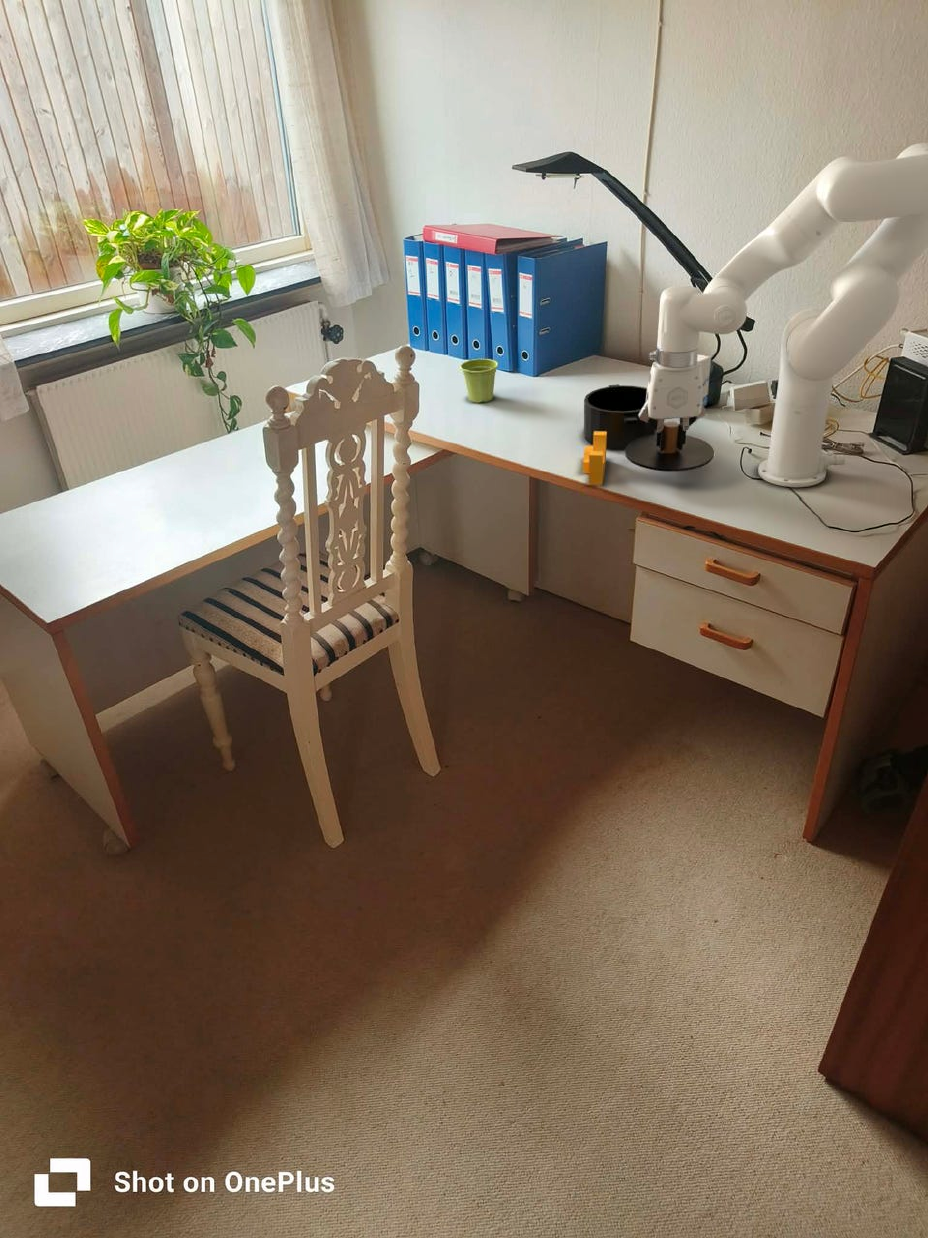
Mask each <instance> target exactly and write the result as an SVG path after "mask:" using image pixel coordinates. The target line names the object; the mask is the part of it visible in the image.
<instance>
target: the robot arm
mask: <svg viewBox="0 0 928 1238" xmlns="http://www.w3.org/2000/svg"><path fill="white" fill-rule="evenodd" d="M879 220H883V221H882V222H881V223H880V224H879V226H878V227H877V228H876V229H875V231H874V232H873V234H872V235H871V236H870V237H869V238H868V239H867V240H866V241H865V243H864V244H863V245H862V246H860V248H859V249H858V250H857V251H856V253H855V254H853V256H852V257H850V259H849V260H848V261H847V262H846V263H845V265H843V266H842V268H841V269H839V271H838V272H837V273H836V274H835V276H834V277H833V279H832V281H831V284H830V288H829V294H830V298H831V302H830V304H828V306H827V307H826V308H824V309H823V308H820V307H809V308H805V309H802V310H800V311H798V312H797V313H796V314H794V315H793V316H792V317H791V318H790V319H789V321H788V322H787V324H786V325H785V327H784V330H783V333H782V337H781V343H780V344H781V345H780V356H779V357H780V359H779V360H780V361H779V373H778V381H777V390H776V397H775V404H774V410H773V419H772V427H771V433H770V439H769V448H768V456H767V458H766V459H765V460H763V461H761V462H760V463H759V465H758V469H757V473H758V476H760V478H761V479H762V480H764V481H766V482H768V483H769V484H773V485H776V486H780V487H786V488H806V487H813V486H815V485H818V484H820V483H822V482H823V481H824V480H825V479H826V474H827V470H826V468H828V467H829V466H842V465H845V464H846V463H845V462H846V457H845V454H835V455H834V451H824V452H823V451H822V449H823V443H824V436H825V431H826V426H827V425H826V424H827V419H828V414H829V413H828V412H829V407H830V401H831V396H832V390H833V384H834V376H835V375H837V374H838V373H839V372H841V371H842V370H843V369H844V368H845V367H847V366H848V364H849V363H850V362H851V361H852V360H853V359H854V358H855V357H856V356H857V355H858V354H859V353H861V351H862V350H863V349H864V348H865V347H866V346H867V345H868V344H869V343H870V342H871V341H872V340H873V339H874V338H875V337H876V336H877V335H878V334H879V333H880V332H881V330H882V329H884V327H885V326H886V325H887V324H888V323H889V321H890V320H891V318H892V317H893V316H894V314H895V313H896V310H897V308H898V305H899V302H900V295H901V294H900V286H899V284H898V282H899V281H900V280H901V279H902V278H903V277H904V275H906V274H907V272H908V271H909V270H910V269H911V268H912V266H913V265H914V264H915V263H916V262H917V261H918V260H919V258H920V257H921V256H922V255H923V254H924V252H926V250H927V249H928V142H920V143H915V144H911V145H909V146H907V147H906V148H905V149H904V150H903V151H902V152H900V153H899V155H898V156H897V157H896V158H892V159H887V160H877V161H867V162H866V161H864V160H863V159H861V158H860V157H859V158H858V157H856V156H851V155H846V156H845V155H844V156H840V157H837V158H835V159H833V160H832V161H831V162H829V163H828V164H827V165H825V167H823V168H822V169H821V171H819V173H818V174H817V175H816V176H815V177H814V178H813V179H812V180H811V181H810V182H809V183H808V184H807V185H806V186H805V188H804V189H803V190H802V191H801V192H800V193H799V194H798V195H797V196H796V197H795V198H794V199H793V200H792V201H791V202H790V204H789V205H787V207H786V208H785V209H784V210H783V211H782V212H781V213H780V214H779V215H778V216H777V217H776V218H775V219H774V220H773V221H772V222H771V223H770V224H769V225H768V226H767V227H766V228H765V229H763V230H762V231H761V232H760V233H759V234H758V235H756V236H755V238H753V239H752V240H751V241H750V242H748V243H747V244H746V245H745V246H744V247H742V248H741V249H740V250H739V251H738V252H736V254H735V255H734V256H733V257H732V258H731V259H730V260H729V261H728V262H727V263H726V264H725V265H724V266H723V267H722V268H721V269H720V271H719V272H718V273H717V274H716V275H715V276H714V277H713V278H712V279H711V281H709V282H708V284H707V286H706V287H705V289H704V290H703V291H701V290H700V288H697V287H695V286H691V285H675V286H670V287H667V288H666V289H664V290H663V291H662V292H661V295H660V298H659V312H658V315H659V316H658V329H657V343H656V346H655V350H654V351H649V352H648V360H653V361H654V362H652V365H651V368H650V372H649V377H648V382H647V387H646V388H647V394H646V403H645V404H644V406H643V408H642V409H641V411H640V413H639V414H638V417H639V419H640V420H642V421H644V422H646V423H649V424H650V425H651V426H652V427H653V428H654V429H655V430H656V431H655V445H656V446H657V447H658V449H659V450H660V451H664V442H665V432H664V428H663V426H664V423H665V420H673V419H679V423H678V424H679V433H678V445H677V448H678V450H682V448H683V444H685V441H686V435H687V431H688V430H689V429H690V427H691V426H692V425H693V424H694V423H695V422H696V421H697V420H700V419H701V418H703V417H704V416H706V415H707V411H706V408H705V406H703V404H702V367H701V363H699V362H698V361H697V356H698V354H699V342H700V332H701V333H707V334H715V335H728V334H729V335H730V334H732V333H735V332H736V331H738V330H740V328H741V327H742V326H743V325H744V323H745V322H746V319H747V315H748V308H747V307H748V306H747V303H746V301H747V300H748V299H750V297H751V296H752V295H753V294H754V293H755V292H756V291H757V290H758V289H759V287H761V286H763V284H764V283H766V282H767V281H768V280H769V279H770V278H772V277H773V276H774V275H776V274H778V273H780V272H781V271H784V270H786V269H790V268H793V267H796V266H797V265H800V264H801V263H804V261H806V260H807V259H808V258H809V257H810V256H811V255H812V254H813V253H814V252H815V251H816V250H817V249H818V248H819V246H821V244H823V243H824V241H826V239H827V238H828V237H830V235H832V233H833V232H834V231H836V230H837V228H839V226H841V225H842V224H843V223H860V222H869V221H870V222H871V221H879ZM648 413H649V415H650V416H649V415H648Z"/></svg>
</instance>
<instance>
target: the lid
mask: <svg viewBox="0 0 928 1238" xmlns="http://www.w3.org/2000/svg"><path fill="white" fill-rule="evenodd" d="M679 424H680V423H679V422H676V421H665V422H664V426H663V428H664V432H665V442H664V451H660V450H659V449H658V447H657V446H656V445H655V434H653V435H648V436H643V437H640V438H637V439H635V440H633V441H631V442H630V443H629V444H628V445H627V446H626V449H625V450H624V455H625V458H626V459H627V460H628V461H629V462H631V463H632V464H634V465H635V466H638V467H640V468H642V469H646V470H651V471H657V472H665V473H666V472H667V473H675V472H687V471H692V470H693V471H694V470H697V469H700V468H703V467H705V466H707V465H708V464H710V463H711V462H712V461H713V460H714V457H715V450H714V447H713V446H712V445H711V444H710V443H708V442H707V441H705V440H703V439H702V438H698V437H696V436H691V435H687V434H686V441H685V444H683V448H682V450H678V448H677V445H678V433H679Z"/></svg>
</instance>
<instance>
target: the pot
mask: <svg viewBox="0 0 928 1238" xmlns="http://www.w3.org/2000/svg"><path fill="white" fill-rule="evenodd" d="M646 394H647V387H644V386H638V385H626V384H625V385H624V384H623V385H620V384H609V385H608V386H604V387H601V388H600V387H599V388H597V389H595V390H594V389H593V390H591V391H590V392H588V393H587V394H586V395H585V396H584V399H583V437H584V439H585V441H586V442H587V443H588V444H590V445H591V446H593V434H594V431H606V432H607V439H606V450H611V451H625V449H626V446H627V445H628V444H629V443H630V442H631V441H633V440H635V439H637V438H640V437H643V436H648V435H653V434H655V431H656V430H655V429H654V428H653V427H652V426H651V425H650V424H649V423H646V422H644V421H642V420H640V419H639V417H638V414H639V413H640V411H641V409H642V408H643V406H644V404H645V403H646ZM648 415H649V413H648ZM649 416H650V415H649Z"/></svg>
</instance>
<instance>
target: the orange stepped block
mask: <svg viewBox="0 0 928 1238" xmlns="http://www.w3.org/2000/svg"><path fill="white" fill-rule="evenodd" d="M606 439H607V432H606V431H594V434H593V445H585V447H584V450H583V457H582V474H588V486H603V481H604V475H605V469H606V463H607V449H606Z"/></svg>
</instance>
